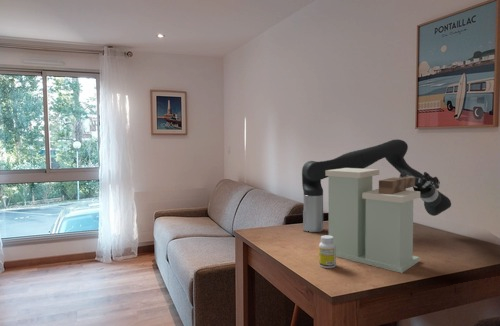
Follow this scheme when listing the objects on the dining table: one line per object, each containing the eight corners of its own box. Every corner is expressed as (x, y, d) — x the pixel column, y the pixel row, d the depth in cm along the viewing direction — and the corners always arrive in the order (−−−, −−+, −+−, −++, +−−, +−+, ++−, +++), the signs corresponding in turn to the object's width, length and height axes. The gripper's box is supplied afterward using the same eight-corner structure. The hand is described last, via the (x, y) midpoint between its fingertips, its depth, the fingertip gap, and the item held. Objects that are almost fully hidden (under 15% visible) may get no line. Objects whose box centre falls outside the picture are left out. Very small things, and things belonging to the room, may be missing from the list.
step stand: (401, 273, 117) (403, 175, 115) (325, 253, 137) (325, 170, 135) (419, 261, 127) (420, 171, 125) (346, 245, 148) (346, 167, 146)
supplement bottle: (323, 261, 129) (323, 233, 128) (338, 265, 125) (338, 236, 124) (316, 266, 124) (316, 237, 124) (331, 269, 121) (331, 239, 120)
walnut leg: (391, 194, 120) (391, 181, 120) (378, 193, 123) (378, 180, 123) (416, 187, 136) (416, 175, 135) (404, 186, 139) (404, 175, 139)
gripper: (410, 180, 155) (396, 164, 145) (446, 183, 145) (434, 165, 135) (406, 196, 153) (392, 181, 143) (443, 200, 143) (430, 183, 132)
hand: (413, 173), depth 139 cm, fingers open, 8 cm apart
